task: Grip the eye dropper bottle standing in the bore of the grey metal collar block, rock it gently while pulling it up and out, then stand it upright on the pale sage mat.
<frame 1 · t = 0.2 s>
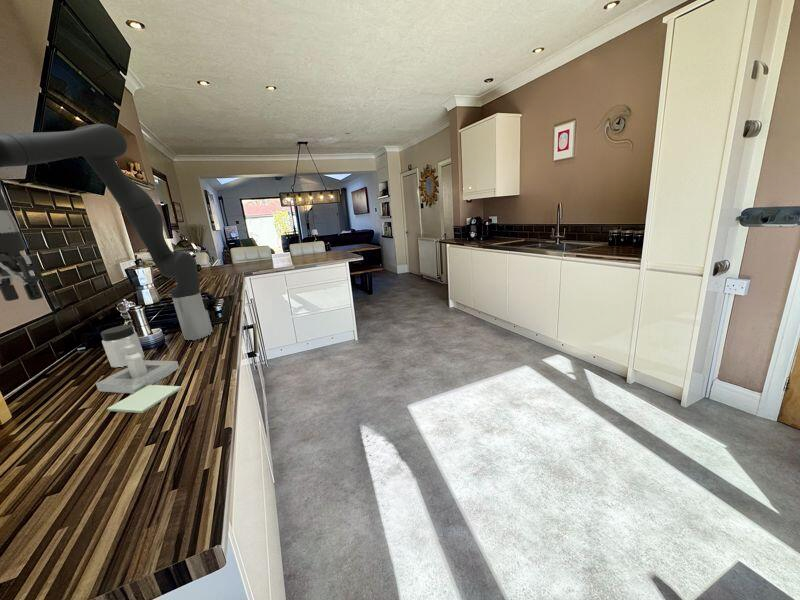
hand: (24, 299, 78), 28 cm above the counter, tool pointing down, fingers open, 8 cm apart
eye dropper bottle: (141, 379, 95), resting in collar block
collar block: (141, 379, 95), on the counter
sage mat: (146, 398, 83), on the counter
jar: (128, 362, 108), on the counter
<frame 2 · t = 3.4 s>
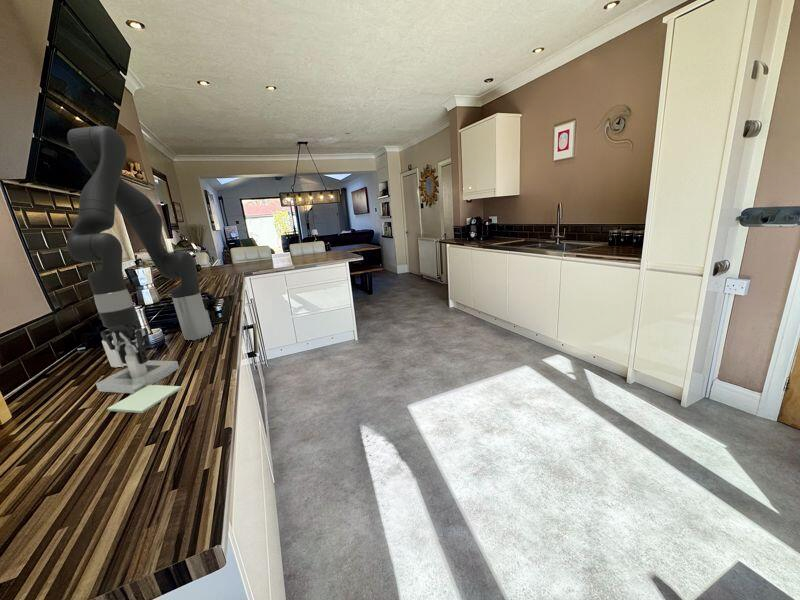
hand: (135, 362, 93), 6 cm above the counter, tool pointing down, fingers closed on eye dropper bottle, 5 cm apart
eye dropper bottle: (141, 379, 95), resting in collar block, touching gripper
everything else where it was.
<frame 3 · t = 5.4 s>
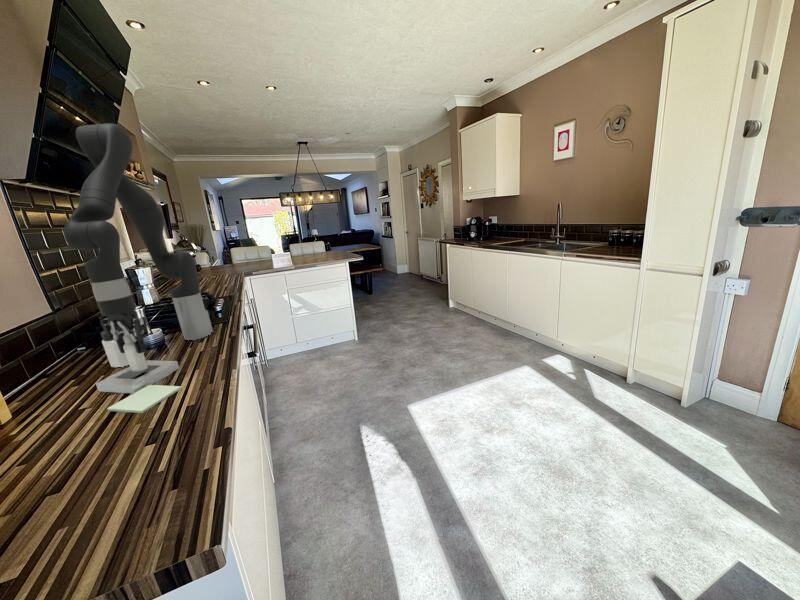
hand: (133, 351, 93), 9 cm above the counter, tool pointing down, fingers closed on eye dropper bottle, 5 cm apart
eye dropper bottle: (140, 369, 94), point 3 cm above the counter, touching gripper
everything else where it was.
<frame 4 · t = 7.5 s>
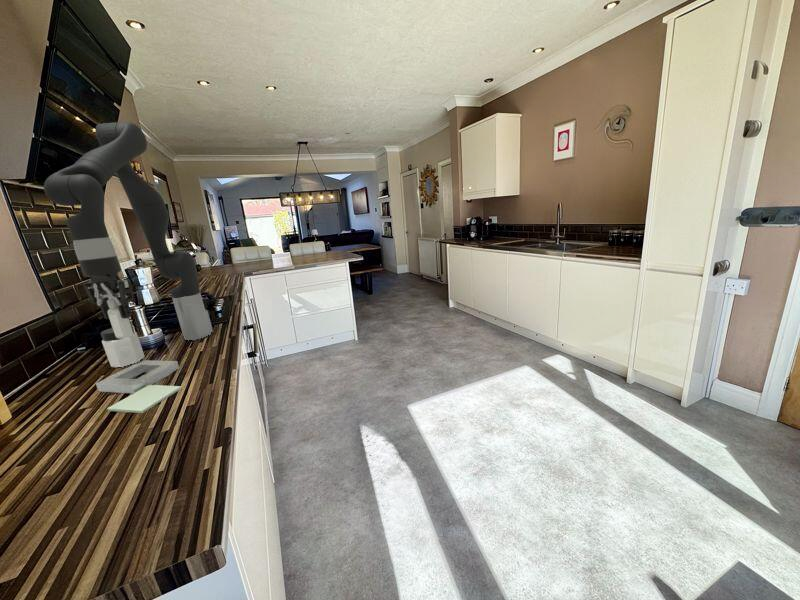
hand: (118, 317, 88), 20 cm above the counter, tool pointing down, fingers closed on eye dropper bottle, 5 cm apart
eye dropper bottle: (125, 336, 90), point 14 cm above the counter, touching gripper
everything else where it was.
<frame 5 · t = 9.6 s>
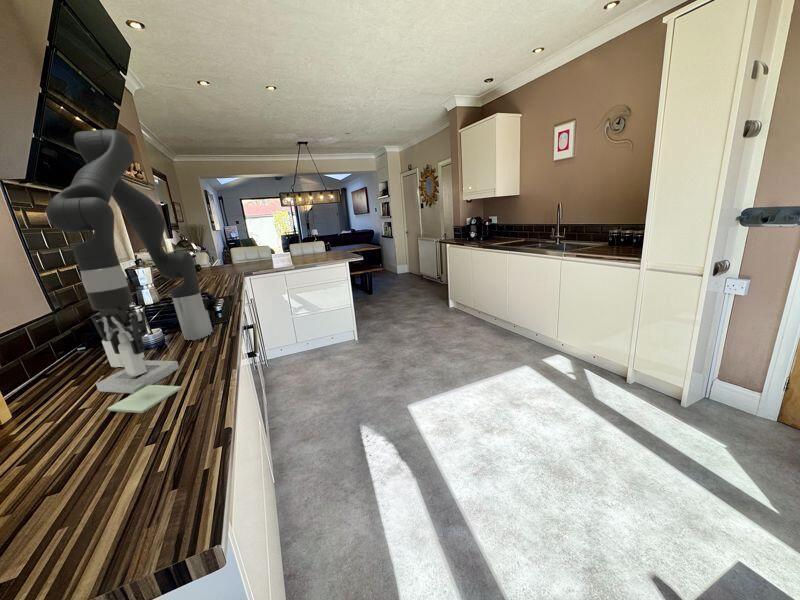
hand: (130, 352, 80), 13 cm above the counter, tool pointing down, fingers closed on eye dropper bottle, 5 cm apart
eye dropper bottle: (137, 373, 81), point 7 cm above the counter, touching gripper
everything else where it was.
when the fingers open (8 cm above the counter, at t = 11.5 s): eye dropper bottle drops 1 cm, resting on sage mat.
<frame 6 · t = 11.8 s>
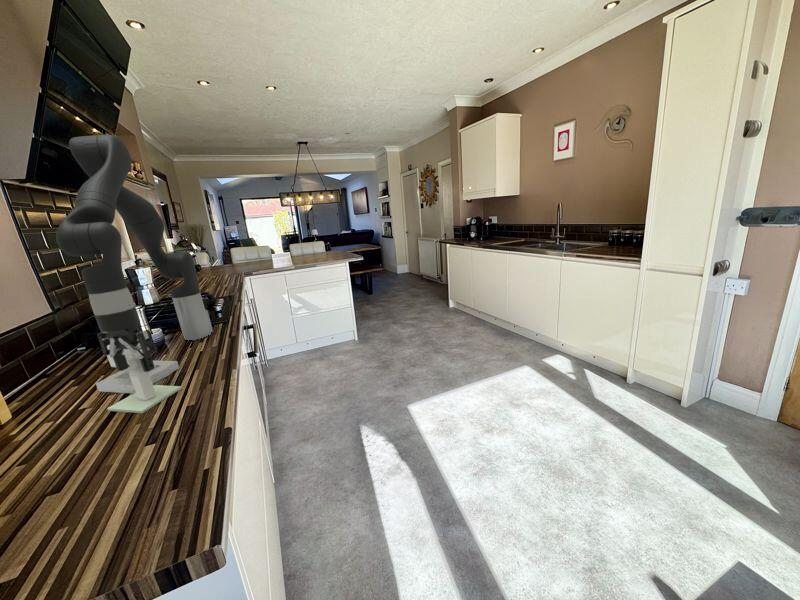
hand: (136, 370, 81), 8 cm above the counter, tool pointing down, fingers open, 8 cm apart
eye dropper bottle: (147, 397, 83), resting on sage mat
everything else where it was.
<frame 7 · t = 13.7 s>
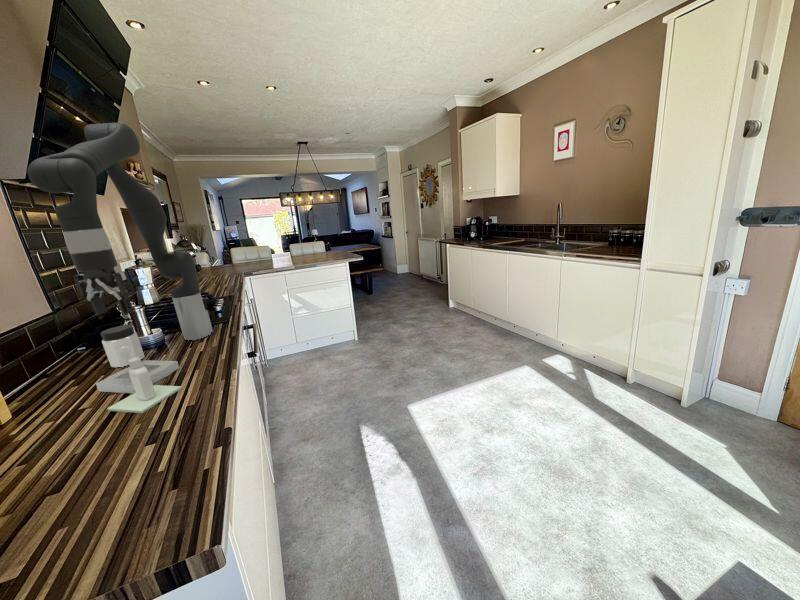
hand: (114, 313, 81), 22 cm above the counter, tool pointing down, fingers open, 8 cm apart
nothing on the counter moved.
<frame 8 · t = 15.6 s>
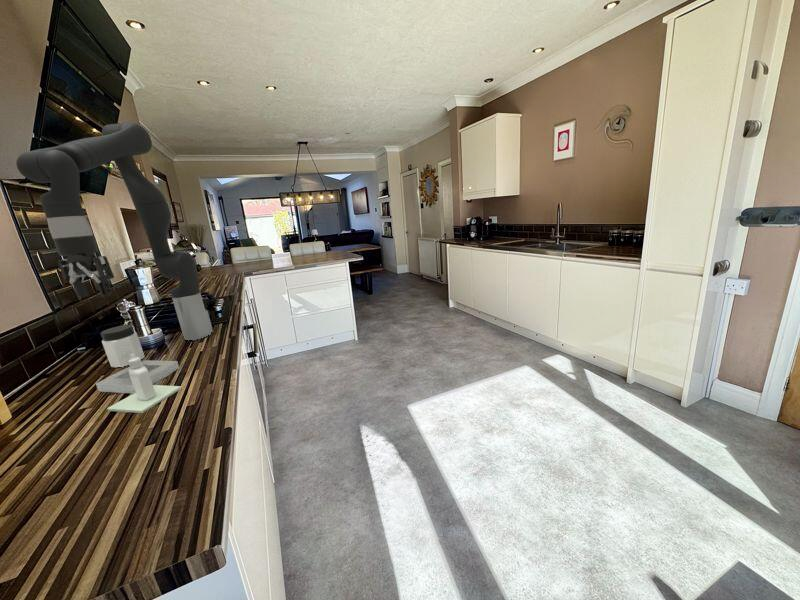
hand: (95, 296, 87), 26 cm above the counter, tool pointing down, fingers open, 8 cm apart
nothing on the counter moved.
at the end: eye dropper bottle inside the target area on the sage mat (0.3 cm from its centre), point 0.4 cm above the sage mat's base; eye dropper bottle tilted 0°; the gripper is holding nothing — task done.
